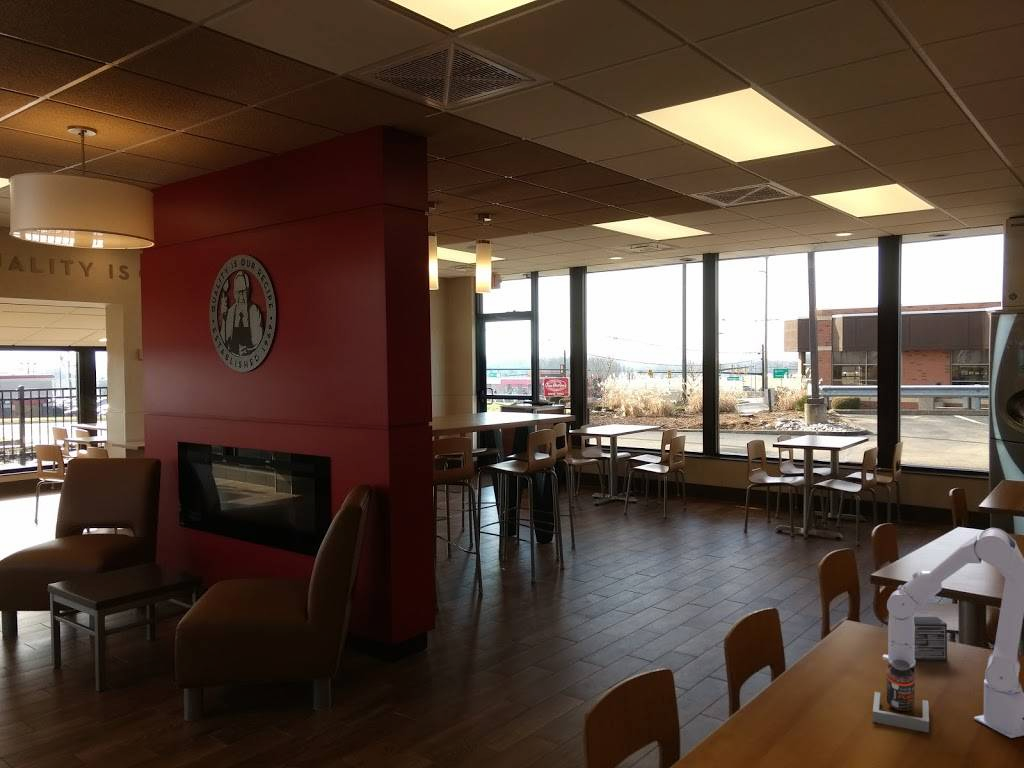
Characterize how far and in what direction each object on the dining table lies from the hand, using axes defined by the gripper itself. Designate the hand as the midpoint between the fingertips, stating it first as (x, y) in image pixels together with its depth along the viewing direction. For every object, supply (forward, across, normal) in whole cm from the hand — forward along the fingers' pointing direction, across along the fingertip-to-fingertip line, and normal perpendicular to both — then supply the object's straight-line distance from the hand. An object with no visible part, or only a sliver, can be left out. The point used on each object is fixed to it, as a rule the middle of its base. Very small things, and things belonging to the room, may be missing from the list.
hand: (901, 695), depth 186 cm
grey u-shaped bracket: (+1, +8, 0) cm, 8 cm away
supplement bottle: (+1, +3, 0) cm, 3 cm away
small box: (+2, -32, +5) cm, 33 cm away
